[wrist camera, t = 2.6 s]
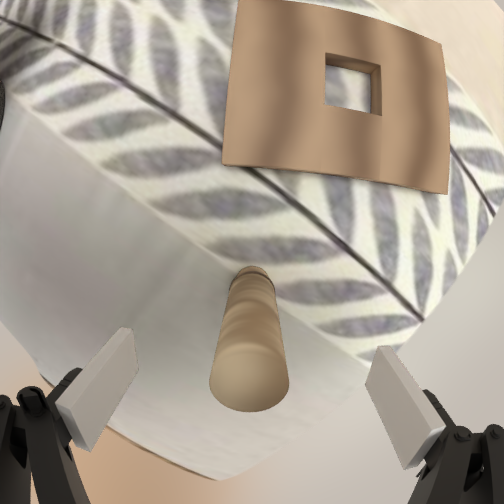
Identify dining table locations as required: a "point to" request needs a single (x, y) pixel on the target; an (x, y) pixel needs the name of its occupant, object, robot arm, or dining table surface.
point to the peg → (250, 347)
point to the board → (331, 117)
